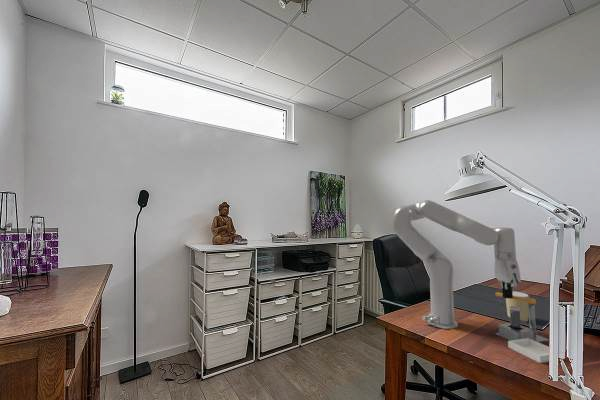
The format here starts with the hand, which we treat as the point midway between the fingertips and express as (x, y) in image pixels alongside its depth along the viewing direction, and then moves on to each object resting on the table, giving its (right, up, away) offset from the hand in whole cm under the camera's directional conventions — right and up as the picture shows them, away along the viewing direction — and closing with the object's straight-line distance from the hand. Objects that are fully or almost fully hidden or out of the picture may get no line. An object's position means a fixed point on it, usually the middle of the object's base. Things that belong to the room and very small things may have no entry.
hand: (507, 297), depth 116 cm
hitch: (+1, -14, -7) cm, 16 cm away
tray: (-6, -14, -19) cm, 24 cm away
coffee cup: (+15, -15, +13) cm, 26 cm away
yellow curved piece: (+3, -1, 0) cm, 3 cm away
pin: (-2, -14, -7) cm, 16 cm away
